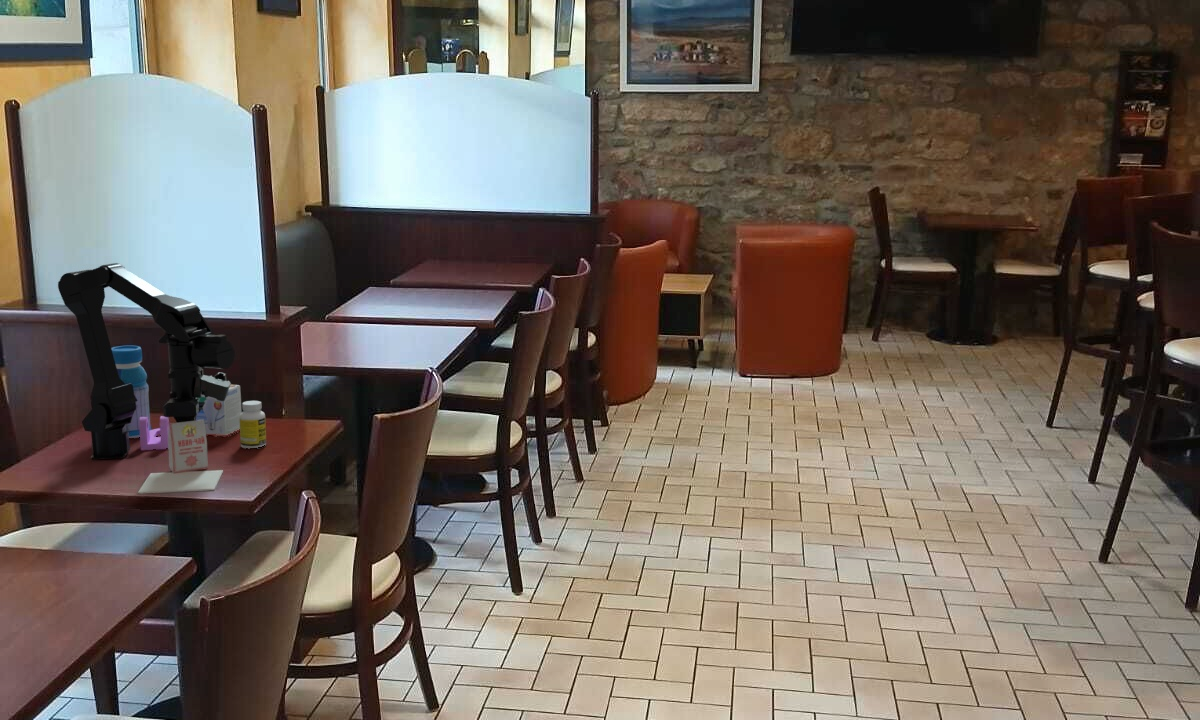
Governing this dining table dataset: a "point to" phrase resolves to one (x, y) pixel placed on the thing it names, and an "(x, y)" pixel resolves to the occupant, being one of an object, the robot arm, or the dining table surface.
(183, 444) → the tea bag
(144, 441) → the bracket
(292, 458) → the dining table surface
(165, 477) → the mat
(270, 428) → the dining table surface
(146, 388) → the beverage bottle
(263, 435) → the supplement bottle
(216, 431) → the light bulb box
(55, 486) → the dining table surface
